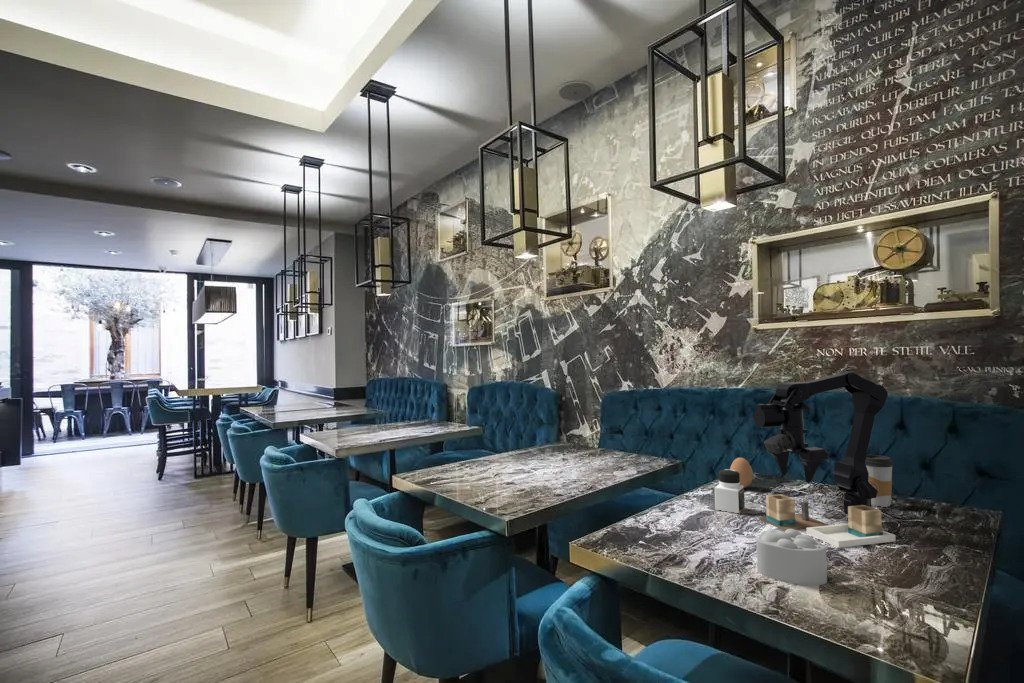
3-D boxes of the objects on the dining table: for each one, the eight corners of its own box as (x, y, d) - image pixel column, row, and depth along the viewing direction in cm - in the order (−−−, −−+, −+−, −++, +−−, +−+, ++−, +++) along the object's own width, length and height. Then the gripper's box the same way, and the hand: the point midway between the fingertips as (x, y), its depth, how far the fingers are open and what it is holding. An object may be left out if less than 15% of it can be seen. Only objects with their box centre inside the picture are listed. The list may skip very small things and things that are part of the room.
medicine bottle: (739, 514, 149) (738, 474, 149) (714, 510, 153) (713, 471, 154) (744, 508, 155) (743, 469, 155) (721, 504, 159) (719, 467, 159)
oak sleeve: (782, 518, 141) (781, 494, 141) (796, 524, 136) (795, 499, 136) (766, 520, 140) (765, 495, 140) (779, 526, 135) (778, 500, 135)
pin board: (801, 517, 145) (800, 496, 145) (829, 528, 135) (828, 506, 136) (759, 521, 142) (758, 500, 143) (785, 533, 133) (784, 510, 133)
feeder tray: (860, 530, 134) (859, 522, 134) (895, 543, 124) (895, 535, 124) (806, 535, 130) (806, 527, 131) (838, 550, 121) (838, 541, 121)
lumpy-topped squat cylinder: (765, 559, 116) (763, 522, 117) (830, 573, 108) (828, 533, 109) (754, 574, 108) (753, 534, 109) (823, 591, 100) (822, 548, 100)
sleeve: (864, 531, 131) (863, 504, 132) (882, 538, 126) (881, 510, 126) (848, 532, 130) (847, 506, 131) (866, 539, 125) (864, 512, 125)
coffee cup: (856, 503, 158) (854, 456, 158) (871, 499, 161) (869, 453, 162) (884, 510, 150) (882, 460, 151) (900, 506, 154) (898, 458, 154)
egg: (736, 483, 183) (735, 454, 184) (757, 487, 178) (756, 457, 178) (726, 487, 178) (725, 457, 179) (747, 491, 173) (746, 460, 173)
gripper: (746, 423, 152) (749, 474, 152) (794, 432, 134) (797, 490, 133) (777, 421, 155) (780, 471, 154) (827, 429, 136) (831, 485, 136)
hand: (795, 478), depth 144 cm, fingers open, 9 cm apart
